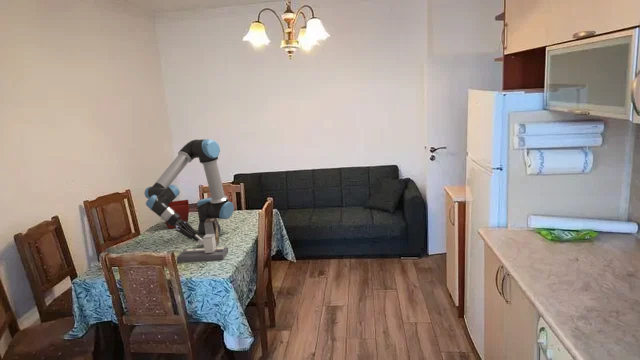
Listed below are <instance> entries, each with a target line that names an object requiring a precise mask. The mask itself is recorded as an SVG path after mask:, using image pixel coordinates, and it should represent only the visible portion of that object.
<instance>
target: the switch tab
mask: <svg viewBox="0 0 640 360" xmlns="http://www.w3.org/2000/svg"><path fill="white" fill-rule="evenodd" d="M202 239H203V242H204V243H203V248H204V250H205V253H214V251H215V250H216V248H217V247H216V240H215V234H206V235H203V237H202Z"/></svg>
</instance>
